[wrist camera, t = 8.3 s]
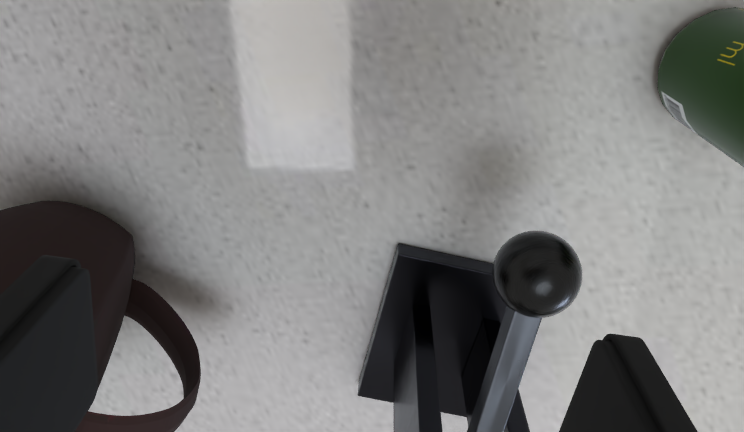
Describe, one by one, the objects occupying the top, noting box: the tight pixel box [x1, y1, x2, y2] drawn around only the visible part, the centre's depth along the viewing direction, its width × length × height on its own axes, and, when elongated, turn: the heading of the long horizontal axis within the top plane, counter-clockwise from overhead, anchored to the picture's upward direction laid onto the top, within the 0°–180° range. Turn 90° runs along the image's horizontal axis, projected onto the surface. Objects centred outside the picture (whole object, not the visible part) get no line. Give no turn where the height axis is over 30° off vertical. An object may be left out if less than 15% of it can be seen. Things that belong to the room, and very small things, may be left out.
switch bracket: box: [358, 244, 530, 432], centre depth 29 cm, size 10×8×13 cm
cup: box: [0, 201, 201, 432], centre depth 28 cm, size 10×14×12 cm
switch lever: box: [467, 231, 582, 432], centre depth 24 cm, size 13×3×3 cm, turn 167°
